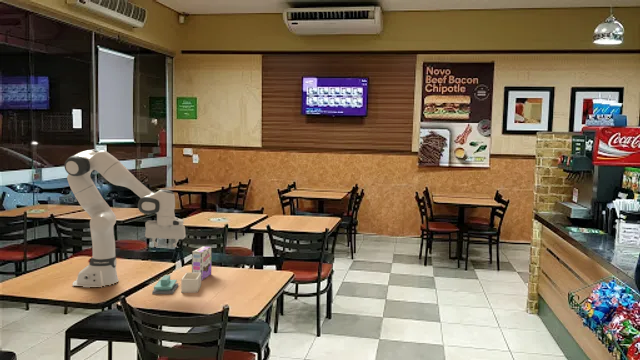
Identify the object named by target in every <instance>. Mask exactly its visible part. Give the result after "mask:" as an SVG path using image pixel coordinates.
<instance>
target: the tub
mask: <svg viewBox="0 0 640 360" xmlns="http://www.w3.org/2000/svg"><path fill="white" fill-rule="evenodd" d="M180 283H181V285H180V286H181V288H180V289H181V293H182V294H183V293H184V294H185V293H187V294H188V293H189V294H192V293H194V294H197V293H198V292H199V290H200V288H201V287H202V281H201V273H192V272H185V274H184V275H183V276H182V277H181V282H180Z"/></svg>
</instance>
